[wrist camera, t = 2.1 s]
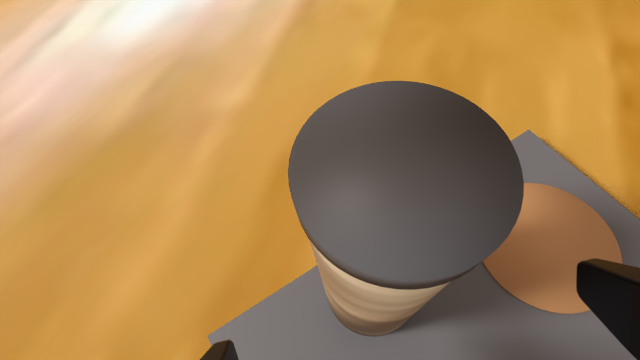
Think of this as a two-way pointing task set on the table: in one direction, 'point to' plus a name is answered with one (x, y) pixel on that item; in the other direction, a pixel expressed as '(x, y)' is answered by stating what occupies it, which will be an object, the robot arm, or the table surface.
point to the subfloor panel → (477, 288)
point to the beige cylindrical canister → (400, 197)
